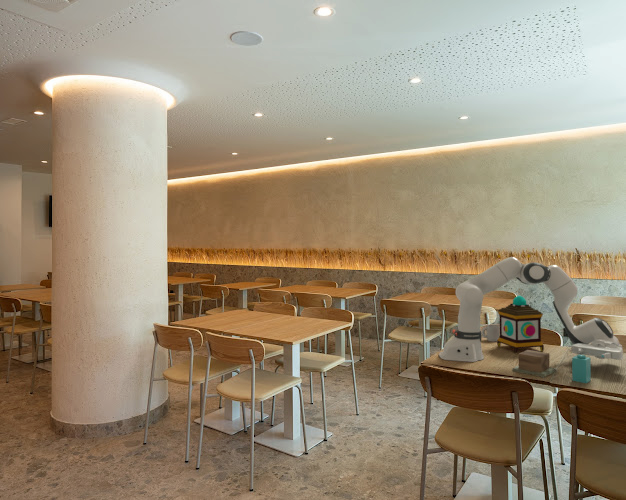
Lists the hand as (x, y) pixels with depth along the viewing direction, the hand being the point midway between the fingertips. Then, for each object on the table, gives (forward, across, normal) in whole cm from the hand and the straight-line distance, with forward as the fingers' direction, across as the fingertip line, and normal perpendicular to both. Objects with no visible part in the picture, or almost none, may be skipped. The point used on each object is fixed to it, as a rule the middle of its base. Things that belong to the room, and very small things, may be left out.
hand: (591, 354), depth 202 cm
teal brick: (+12, 0, +9) cm, 15 cm away
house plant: (-47, -19, +10) cm, 51 cm away
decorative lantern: (-24, -43, +9) cm, 50 cm away
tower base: (+12, -20, +9) cm, 25 cm away
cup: (-32, -64, +9) cm, 72 cm away
